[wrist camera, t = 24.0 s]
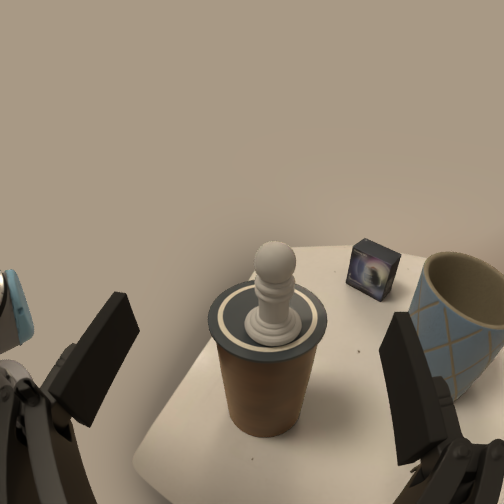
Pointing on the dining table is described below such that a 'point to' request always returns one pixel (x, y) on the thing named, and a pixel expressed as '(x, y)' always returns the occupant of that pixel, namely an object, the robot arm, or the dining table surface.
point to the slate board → (243, 347)
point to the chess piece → (274, 296)
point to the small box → (372, 268)
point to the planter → (459, 317)
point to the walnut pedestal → (265, 392)
